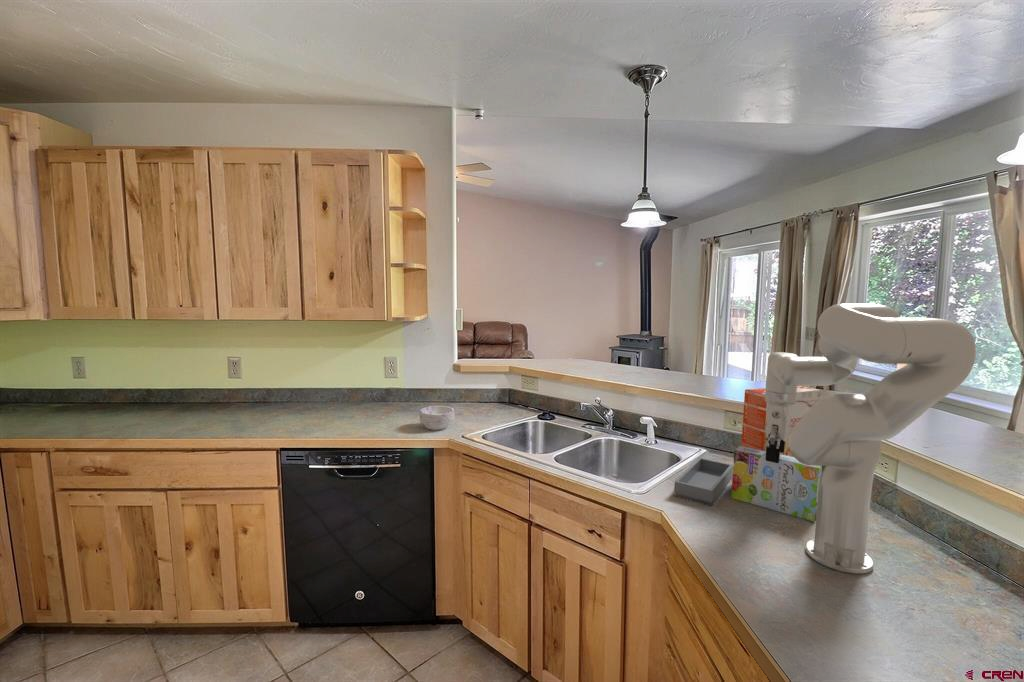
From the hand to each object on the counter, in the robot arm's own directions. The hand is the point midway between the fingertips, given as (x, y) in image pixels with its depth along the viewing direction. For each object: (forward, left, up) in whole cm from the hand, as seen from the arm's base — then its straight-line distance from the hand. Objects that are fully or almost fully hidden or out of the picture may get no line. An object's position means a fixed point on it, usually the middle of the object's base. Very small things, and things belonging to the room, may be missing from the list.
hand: (774, 456), depth 130 cm
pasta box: (+20, +2, -15) cm, 25 cm away
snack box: (-1, 0, -15) cm, 15 cm away
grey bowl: (-7, +130, -15) cm, 131 cm away
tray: (+1, +19, -14) cm, 24 cm away
